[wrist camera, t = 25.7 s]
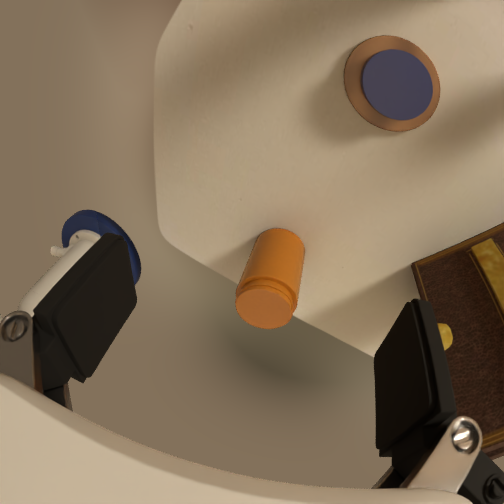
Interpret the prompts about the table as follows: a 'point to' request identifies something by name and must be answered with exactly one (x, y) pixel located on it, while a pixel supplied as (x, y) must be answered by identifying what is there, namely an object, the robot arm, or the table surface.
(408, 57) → the lid
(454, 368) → the book
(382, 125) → the coaster
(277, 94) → the table surface
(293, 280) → the jar
